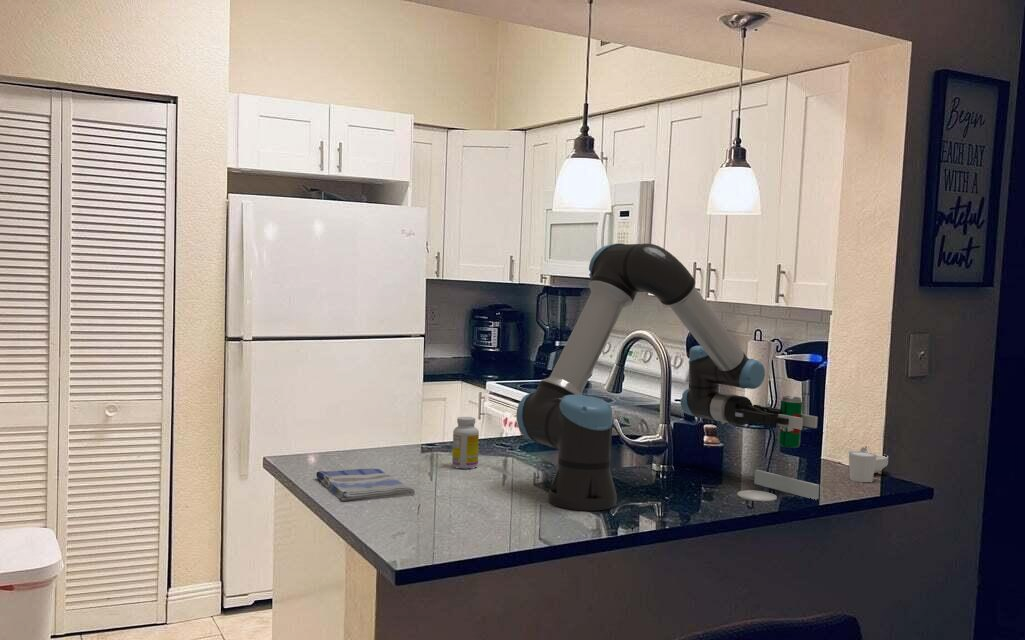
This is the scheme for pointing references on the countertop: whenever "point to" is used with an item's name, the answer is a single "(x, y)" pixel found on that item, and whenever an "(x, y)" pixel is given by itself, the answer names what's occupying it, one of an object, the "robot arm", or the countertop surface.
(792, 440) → the soda can
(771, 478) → the acrylic fence
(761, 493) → the disc
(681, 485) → the countertop surface
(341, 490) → the dish towel
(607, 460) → the robot arm
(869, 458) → the white cup
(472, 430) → the supplement bottle
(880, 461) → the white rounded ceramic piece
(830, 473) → the countertop surface
